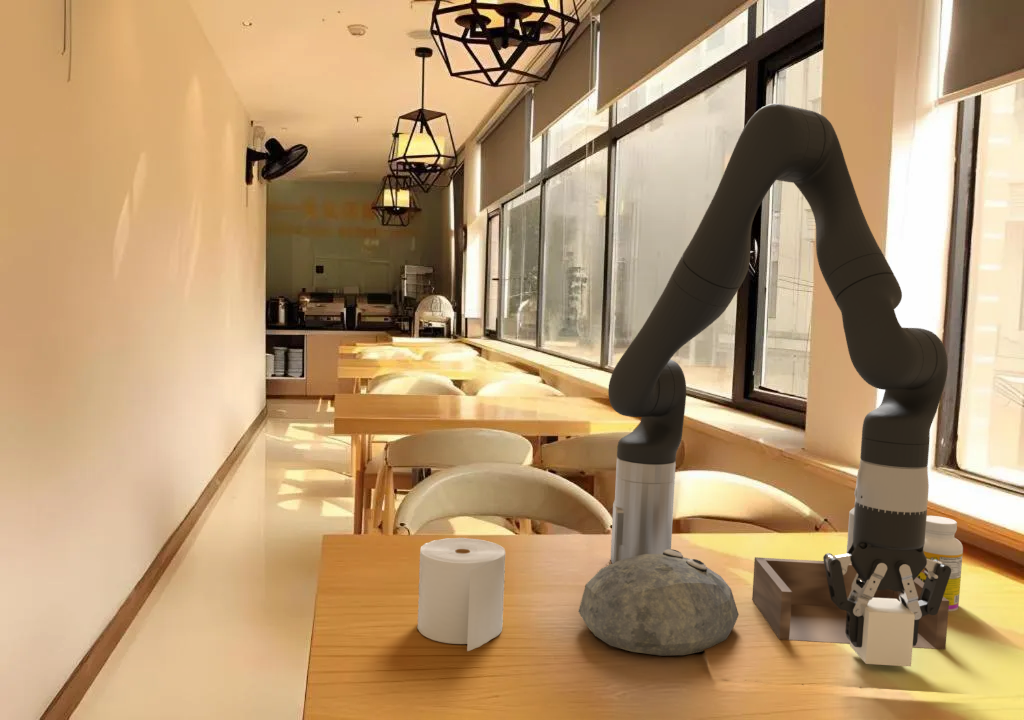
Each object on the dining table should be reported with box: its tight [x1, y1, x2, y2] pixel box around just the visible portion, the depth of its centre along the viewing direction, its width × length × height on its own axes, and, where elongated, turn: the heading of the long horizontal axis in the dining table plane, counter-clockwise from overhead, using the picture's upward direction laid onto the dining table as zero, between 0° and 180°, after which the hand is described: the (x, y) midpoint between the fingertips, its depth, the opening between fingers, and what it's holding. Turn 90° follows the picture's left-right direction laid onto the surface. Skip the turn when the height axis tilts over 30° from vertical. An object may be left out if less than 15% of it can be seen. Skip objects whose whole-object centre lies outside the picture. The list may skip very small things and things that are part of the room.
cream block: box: [849, 598, 915, 667], centre depth 95 cm, size 5×5×6 cm
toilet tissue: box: [417, 537, 506, 652], centre depth 102 cm, size 11×12×10 cm
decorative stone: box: [578, 548, 740, 656], centre depth 103 cm, size 18×21×10 cm
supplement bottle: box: [917, 515, 964, 612], centre depth 116 cm, size 7×7×13 cm
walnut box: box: [751, 556, 949, 650], centre depth 107 cm, size 20×14×7 cm
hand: (880, 645), depth 95 cm, fingers closed on cream block, 5 cm apart
